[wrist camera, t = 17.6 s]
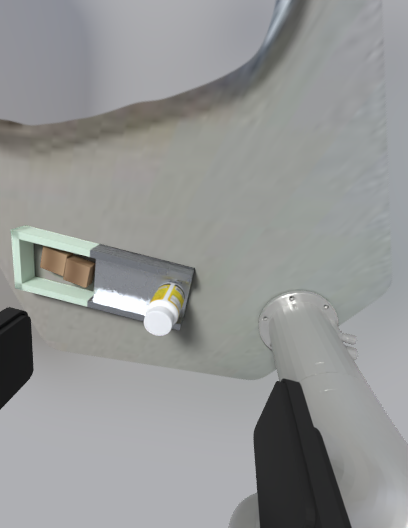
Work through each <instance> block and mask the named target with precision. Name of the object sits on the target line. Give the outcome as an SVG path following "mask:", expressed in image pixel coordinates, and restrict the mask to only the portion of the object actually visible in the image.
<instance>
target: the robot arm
mask: <svg viewBox="0 0 408 528" xmlns="http://www.w3.org/2000/svg"><path fill="white" fill-rule="evenodd" d="M290 296H292V297H290ZM258 323H259V332H260V335H261V338H262V340H263V341H264V343H265V344H266V345H267V346H268V347H269V348H270V349H271V350H273V354H274V358H275V363H276V368H277V373H278V377H279V381H277V382H276V383H275V385H274V388H273V390H272V392H271V394H270V396H269V398H268V401H267V403H266V405H265V407H264V409H263V412H262V414H261V416H260V418H259V420H258V422H257V425H256V427H255V430H254V453H255V466H256V478H257V493H255V494H253V495H250V496H249V497H247V498H246V499H244V500H243V501H242V502H241V503H240V504H239V505H238V506H237V508H236V509H235V511H234V512H233V515H232V517H231V519H230V523H229V528H408V444H407V442H406V441H405V440H404V438H403V437H402V436H401V434H400V433H399V431H398V430H397V428H396V427H395V425H394V424H393V422H392V421H391V419H390V418H389V416H388V415H387V413H386V412H385V410H384V409H383V407H382V405H381V404H380V402H379V400H378V399H377V398H376V396H375V394H374V392H373V391H372V389H371V388H370V386H369V385H368V383H367V381H366V380H365V378H364V376H363V375H362V373H361V372H360V370H359V368H358V367H357V365H356V363H355V362H354V360H356V359H357V357H358V351H357V349H356V348H352V347H348V346H345V345H344V344H343V342H346V343H349V344H355V343H356V340H357V339H356V336H354V335H350V334H344V333H342V332H341V331H340V329H339V328H338V323H339V322H338V316H337V314H336V311H335V309H334V308H333V306H332V305H331V304H330V303H329V302H328V300H326V299H325V298H324V297H322V296H320V295H318V294H316V293H313V292H309V291H301V290H298V291H290V292H286V293H283V294H281V295H278V296H276V297H275V298H273V299H272V300H271V301H270V302H268V303H267V304H266V306H265V307H264V308H263V310H262V312H261V314H260V317H259V322H258ZM342 341H343V342H342ZM32 373H33V352H32V334H31V319H30V317H29V316H28V314H27V312H26V311H22V310H18V309H14V308H10V307H9V308H6V309H4V310H2V311H1V312H0V409H1V408H2V407H3V406H4V405H5V404H6V403H7V402H8V401H9V400H10V399H11V398H12V397H13V395H15V394H16V393H17V392H18V390H19V389H20V388H21V387H22V386H23V385H24V384H25V383H26V382H27V381H28V380H29V379H30V377H31V375H32Z"/></svg>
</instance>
